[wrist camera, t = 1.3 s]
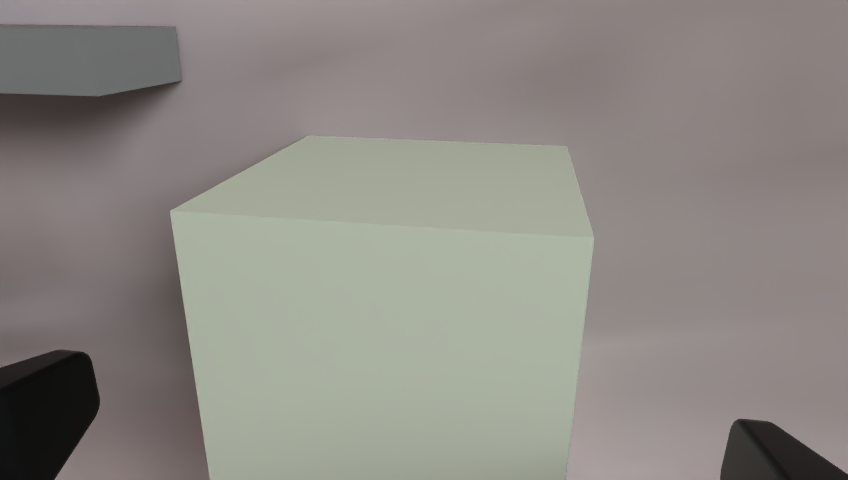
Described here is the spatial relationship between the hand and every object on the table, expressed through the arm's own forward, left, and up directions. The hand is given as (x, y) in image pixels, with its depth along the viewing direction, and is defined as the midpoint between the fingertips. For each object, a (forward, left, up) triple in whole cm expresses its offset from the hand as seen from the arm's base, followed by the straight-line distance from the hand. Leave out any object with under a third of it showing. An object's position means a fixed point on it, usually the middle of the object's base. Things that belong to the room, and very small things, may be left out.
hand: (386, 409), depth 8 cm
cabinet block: (0, 0, -5) cm, 5 cm away
